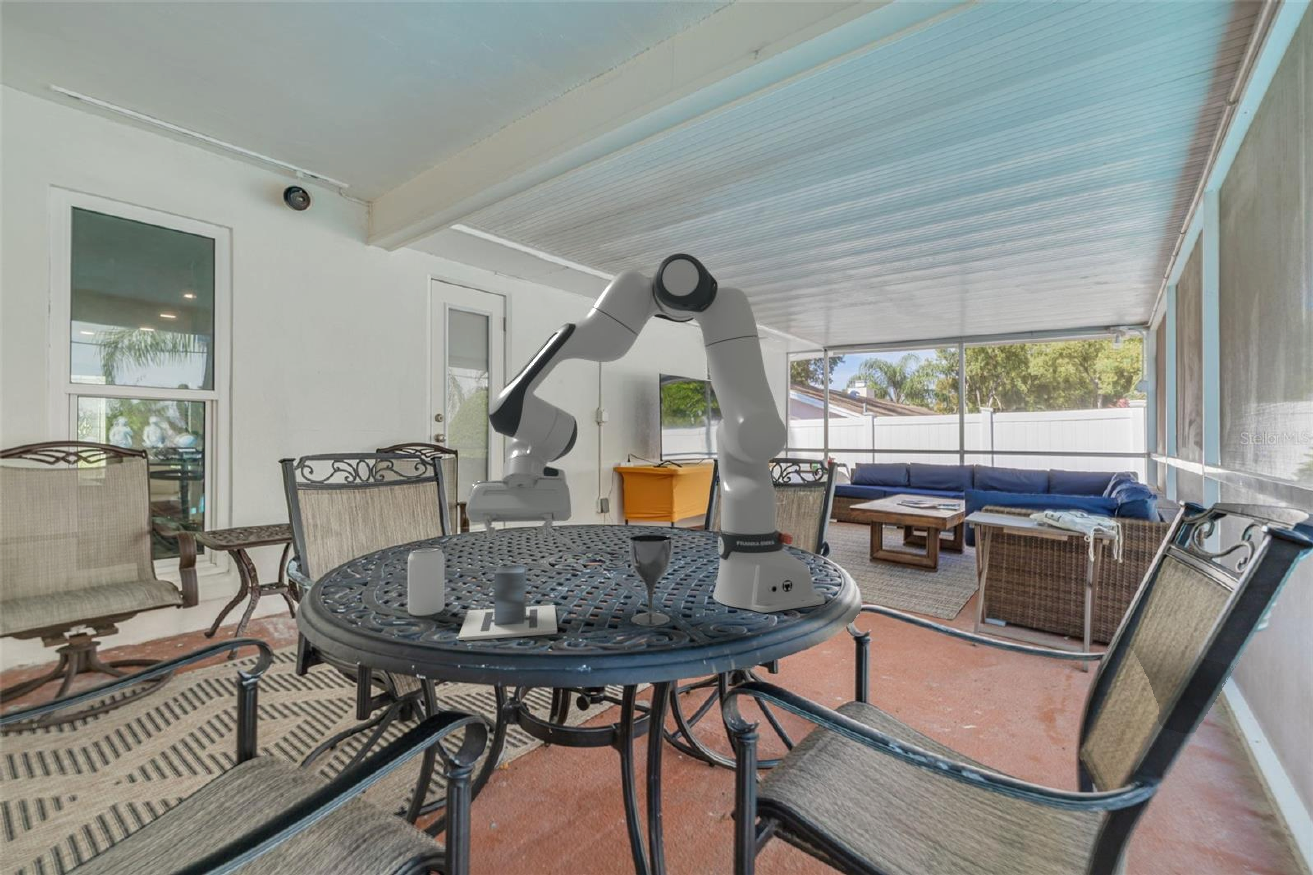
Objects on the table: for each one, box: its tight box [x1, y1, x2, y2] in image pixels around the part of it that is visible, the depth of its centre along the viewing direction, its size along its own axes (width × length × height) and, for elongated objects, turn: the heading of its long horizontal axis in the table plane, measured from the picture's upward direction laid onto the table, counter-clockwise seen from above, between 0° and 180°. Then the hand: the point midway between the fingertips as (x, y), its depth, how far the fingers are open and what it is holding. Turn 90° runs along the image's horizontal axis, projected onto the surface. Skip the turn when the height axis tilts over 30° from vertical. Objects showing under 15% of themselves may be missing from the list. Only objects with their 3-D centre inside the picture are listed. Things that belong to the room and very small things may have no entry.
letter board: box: [457, 604, 558, 641], centre depth 100 cm, size 16×14×1 cm
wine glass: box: [628, 533, 673, 627], centre depth 102 cm, size 8×8×15 cm
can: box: [407, 545, 445, 617], centre depth 106 cm, size 6×6×12 cm
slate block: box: [493, 565, 527, 625], centre depth 100 cm, size 5×5×9 cm
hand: (516, 537), depth 106 cm, fingers open, 8 cm apart
